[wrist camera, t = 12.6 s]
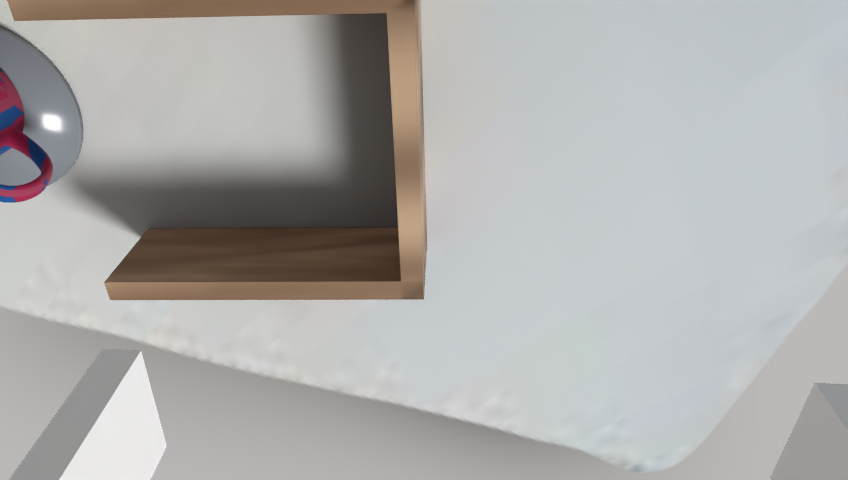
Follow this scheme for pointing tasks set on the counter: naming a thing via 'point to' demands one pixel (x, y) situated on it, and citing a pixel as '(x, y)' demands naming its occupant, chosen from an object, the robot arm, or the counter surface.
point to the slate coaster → (39, 111)
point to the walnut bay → (284, 247)
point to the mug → (19, 144)
